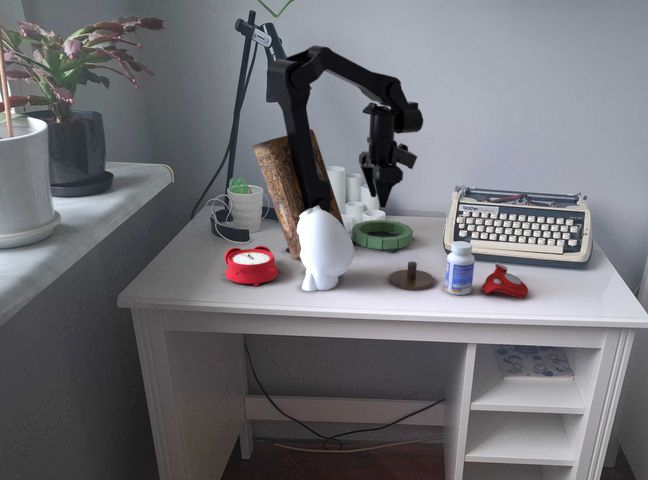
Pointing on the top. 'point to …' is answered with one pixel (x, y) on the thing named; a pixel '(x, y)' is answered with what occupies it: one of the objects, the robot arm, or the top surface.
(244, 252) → the alarm clock
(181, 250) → the top surface
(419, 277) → the ring stand
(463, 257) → the pill bottle
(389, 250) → the mat
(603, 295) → the top surface
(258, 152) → the book
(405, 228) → the ring
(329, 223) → the figurine
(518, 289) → the tracker holder
